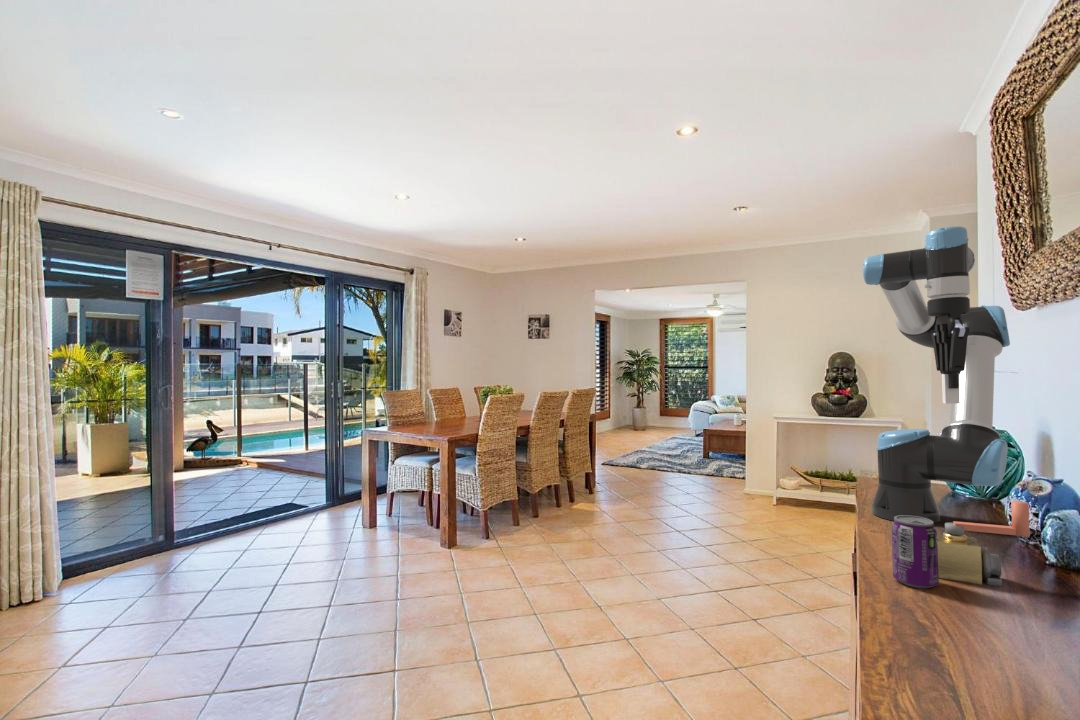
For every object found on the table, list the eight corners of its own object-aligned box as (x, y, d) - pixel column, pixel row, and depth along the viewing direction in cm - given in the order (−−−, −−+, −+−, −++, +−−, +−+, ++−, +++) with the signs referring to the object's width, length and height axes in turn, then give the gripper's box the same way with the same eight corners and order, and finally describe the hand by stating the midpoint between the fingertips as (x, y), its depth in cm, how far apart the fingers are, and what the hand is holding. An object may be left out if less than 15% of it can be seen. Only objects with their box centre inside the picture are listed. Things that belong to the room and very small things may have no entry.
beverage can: (947, 592, 96) (944, 526, 96) (903, 589, 97) (901, 524, 97) (926, 576, 103) (924, 514, 103) (886, 574, 104) (884, 513, 104)
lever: (947, 533, 102) (946, 498, 102) (943, 529, 105) (942, 495, 105) (1032, 542, 97) (1031, 505, 97) (1026, 537, 99) (1025, 501, 100)
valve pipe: (914, 563, 109) (912, 525, 109) (995, 575, 102) (994, 534, 102) (916, 574, 104) (915, 533, 104) (1003, 587, 97) (1001, 544, 97)
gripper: (916, 301, 125) (919, 401, 125) (941, 295, 113) (944, 405, 112) (954, 300, 123) (957, 401, 123) (983, 293, 110) (986, 405, 110)
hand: (951, 403), depth 118 cm, fingers closed
